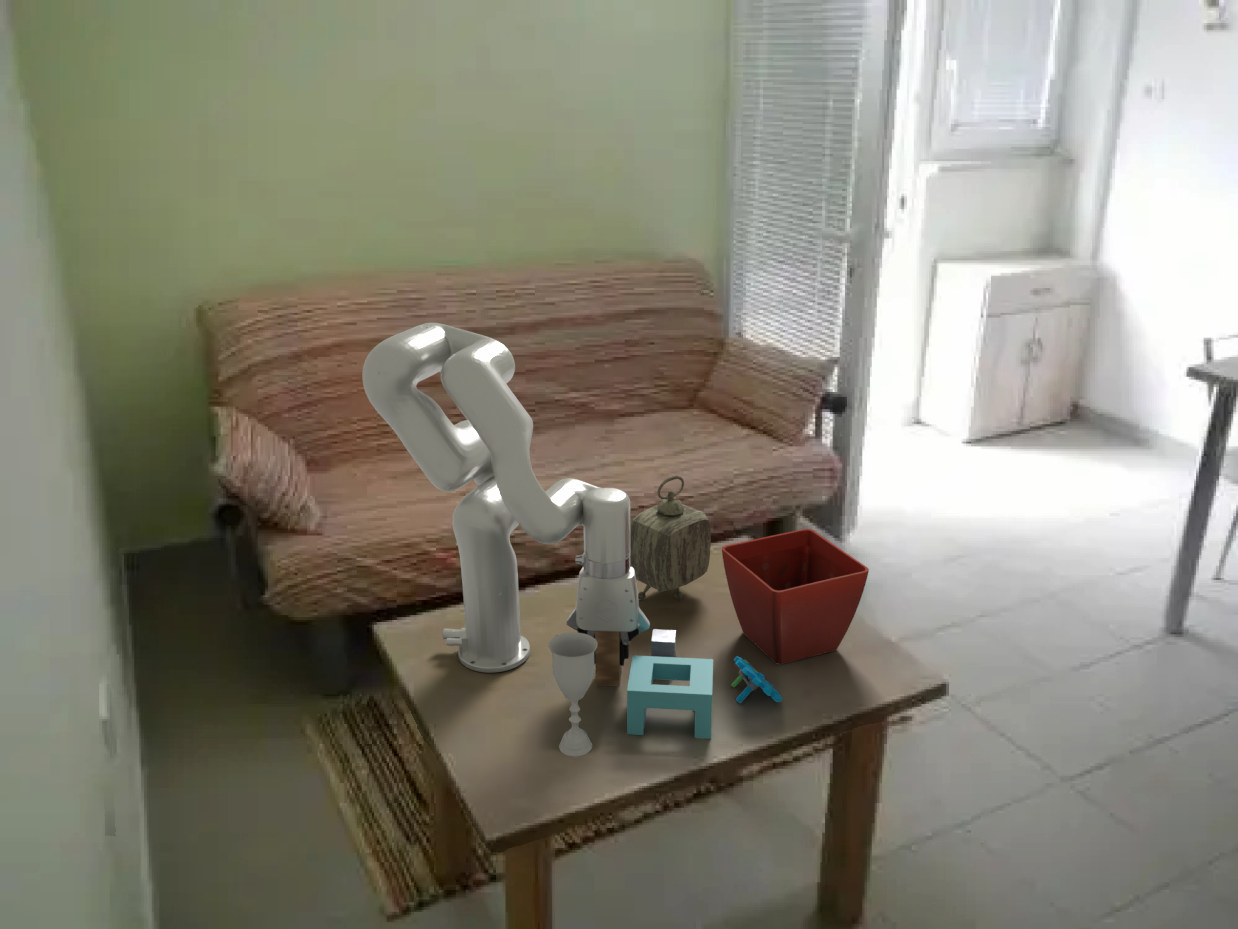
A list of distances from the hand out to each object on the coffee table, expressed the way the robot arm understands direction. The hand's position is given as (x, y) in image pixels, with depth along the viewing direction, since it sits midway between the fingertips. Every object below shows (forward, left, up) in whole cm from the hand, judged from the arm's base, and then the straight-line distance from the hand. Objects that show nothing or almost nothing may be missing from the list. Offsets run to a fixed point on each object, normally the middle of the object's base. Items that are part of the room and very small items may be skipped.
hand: (608, 659), depth 174 cm
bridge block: (+11, -10, -4) cm, 15 cm away
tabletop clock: (+9, +30, -4) cm, 32 cm away
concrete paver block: (+9, +5, -4) cm, 11 cm away
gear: (+25, -3, -4) cm, 25 cm away
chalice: (-3, -19, -4) cm, 19 cm away
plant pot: (+31, +15, -4) cm, 35 cm away
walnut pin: (0, 0, -4) cm, 4 cm away
